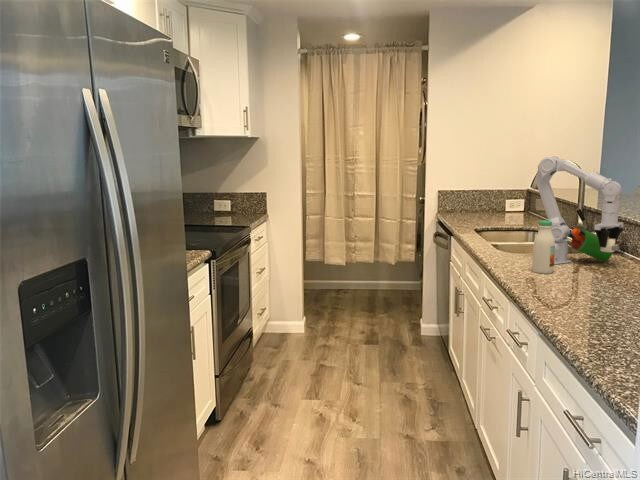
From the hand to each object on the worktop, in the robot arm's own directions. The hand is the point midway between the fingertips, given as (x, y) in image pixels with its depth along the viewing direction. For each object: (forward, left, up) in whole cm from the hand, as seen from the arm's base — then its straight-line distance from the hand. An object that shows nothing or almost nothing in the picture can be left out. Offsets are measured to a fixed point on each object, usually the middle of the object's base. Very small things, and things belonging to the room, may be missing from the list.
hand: (607, 246), depth 213 cm
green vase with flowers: (+10, +9, -4) cm, 14 cm away
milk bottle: (-28, +6, -9) cm, 30 cm away
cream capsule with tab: (0, 0, -2) cm, 2 cm away
